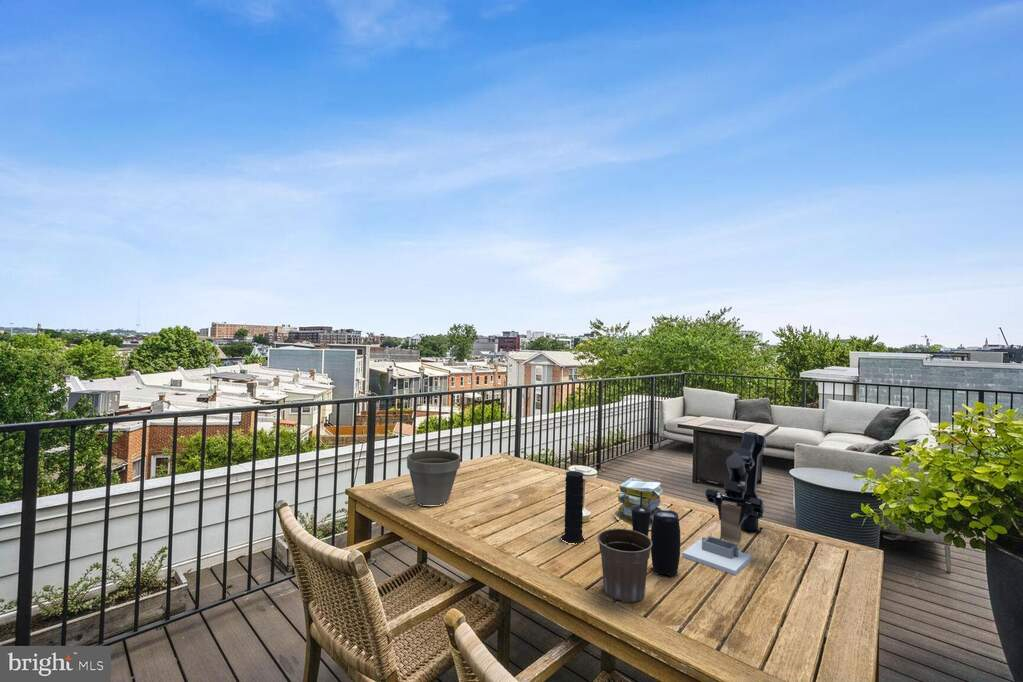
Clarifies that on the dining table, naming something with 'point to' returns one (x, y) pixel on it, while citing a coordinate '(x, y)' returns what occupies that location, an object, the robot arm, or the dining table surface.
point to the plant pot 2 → (624, 563)
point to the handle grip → (573, 507)
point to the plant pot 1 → (433, 475)
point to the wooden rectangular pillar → (730, 522)
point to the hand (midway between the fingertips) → (729, 521)
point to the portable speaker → (665, 542)
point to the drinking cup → (641, 517)
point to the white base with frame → (717, 554)
